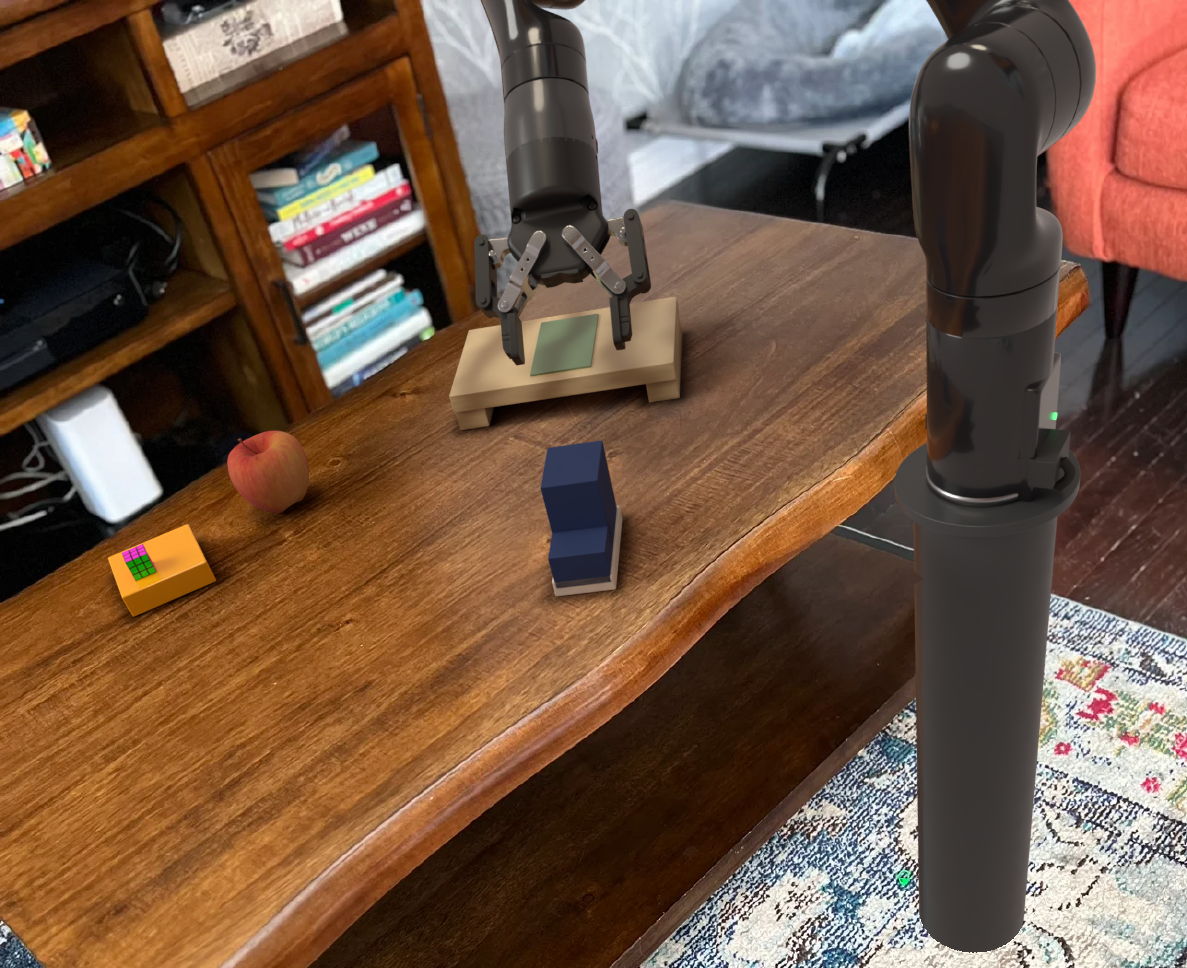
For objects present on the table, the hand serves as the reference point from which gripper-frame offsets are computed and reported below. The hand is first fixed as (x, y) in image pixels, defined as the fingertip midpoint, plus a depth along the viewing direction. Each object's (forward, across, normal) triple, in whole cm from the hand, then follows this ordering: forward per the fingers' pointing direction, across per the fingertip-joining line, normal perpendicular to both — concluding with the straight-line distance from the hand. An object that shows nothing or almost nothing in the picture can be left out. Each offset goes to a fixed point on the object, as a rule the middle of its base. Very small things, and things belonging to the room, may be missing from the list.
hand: (568, 354), depth 101 cm
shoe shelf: (-6, -4, +24) cm, 24 cm away
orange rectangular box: (+13, -40, +5) cm, 43 cm away
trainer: (+16, 0, +2) cm, 16 cm away
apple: (+6, -31, +12) cm, 34 cm away
